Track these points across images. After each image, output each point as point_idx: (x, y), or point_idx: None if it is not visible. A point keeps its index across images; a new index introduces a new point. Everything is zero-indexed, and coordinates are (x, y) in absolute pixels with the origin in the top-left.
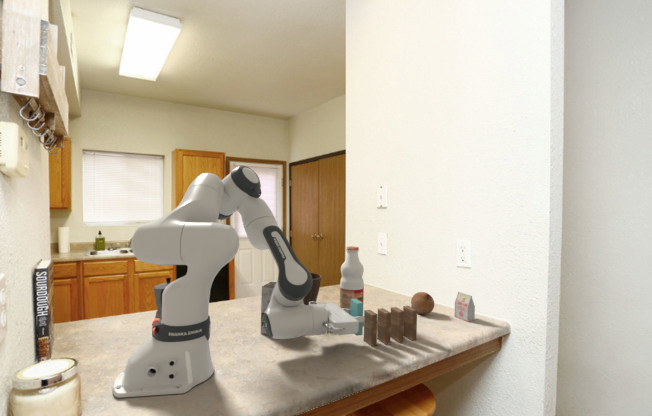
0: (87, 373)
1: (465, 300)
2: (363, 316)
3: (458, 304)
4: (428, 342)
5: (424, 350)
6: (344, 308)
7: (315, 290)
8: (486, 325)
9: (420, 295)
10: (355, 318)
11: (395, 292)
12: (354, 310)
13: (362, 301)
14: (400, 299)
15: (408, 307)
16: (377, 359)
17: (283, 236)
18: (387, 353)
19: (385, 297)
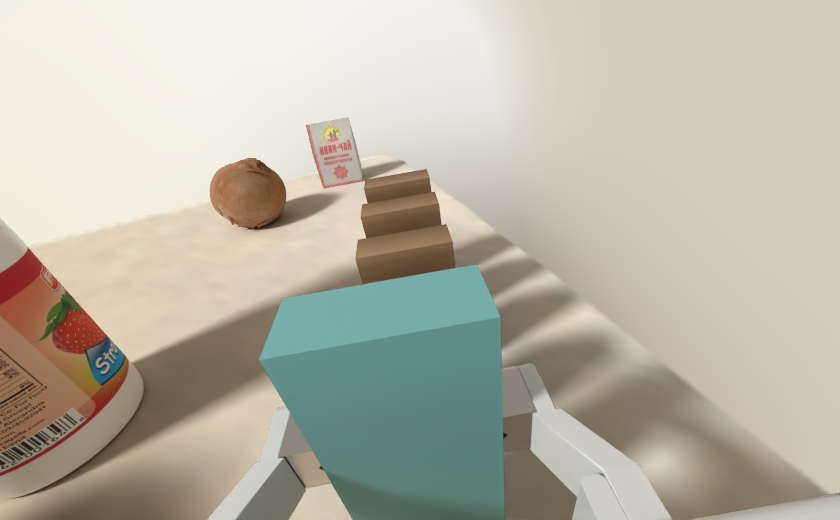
0: None
1: (338, 135)
2: (534, 368)
3: (325, 154)
4: (464, 251)
5: (528, 271)
6: (217, 516)
7: None
8: (393, 168)
9: (241, 172)
10: (640, 477)
11: (76, 235)
12: (424, 412)
13: (85, 313)
14: (131, 236)
15: (387, 180)
16: (673, 465)
17: None
18: (572, 389)
19: (72, 260)
